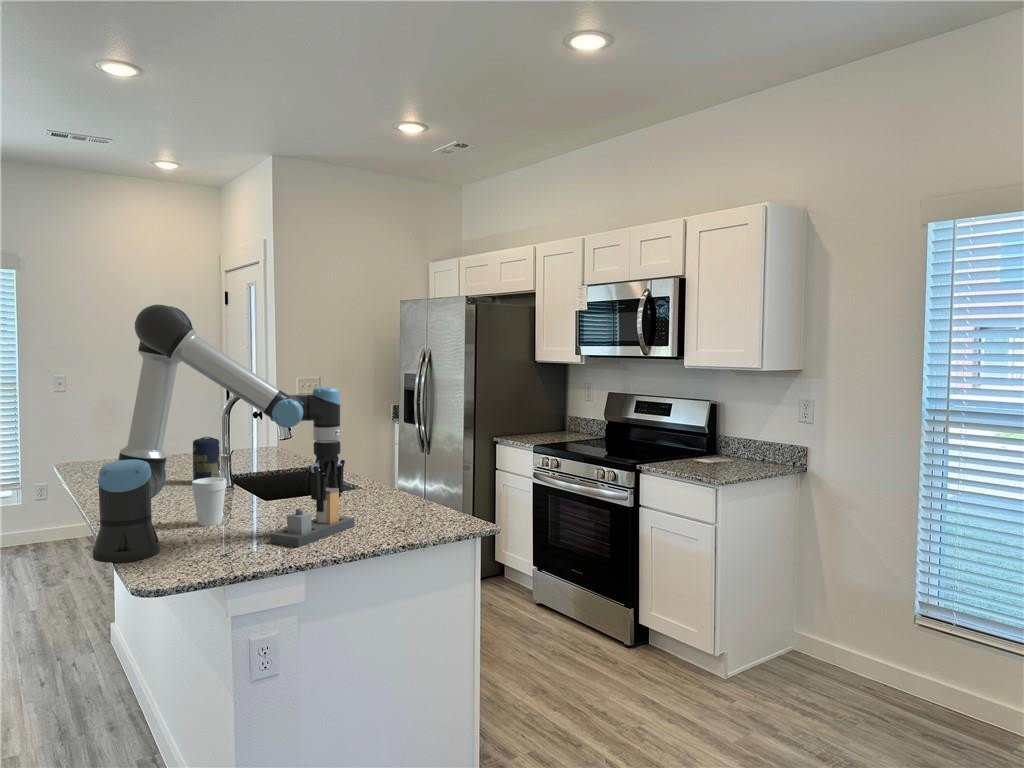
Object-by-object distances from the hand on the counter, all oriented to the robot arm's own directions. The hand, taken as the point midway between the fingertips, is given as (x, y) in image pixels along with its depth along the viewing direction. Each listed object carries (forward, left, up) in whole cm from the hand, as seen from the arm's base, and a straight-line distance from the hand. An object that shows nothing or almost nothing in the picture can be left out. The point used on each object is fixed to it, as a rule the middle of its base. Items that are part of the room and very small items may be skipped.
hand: (327, 520), depth 209 cm
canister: (+34, +86, -3) cm, 93 cm away
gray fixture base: (-6, 0, -3) cm, 7 cm away
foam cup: (-10, +36, -3) cm, 37 cm away
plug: (0, 0, -1) cm, 1 cm away
